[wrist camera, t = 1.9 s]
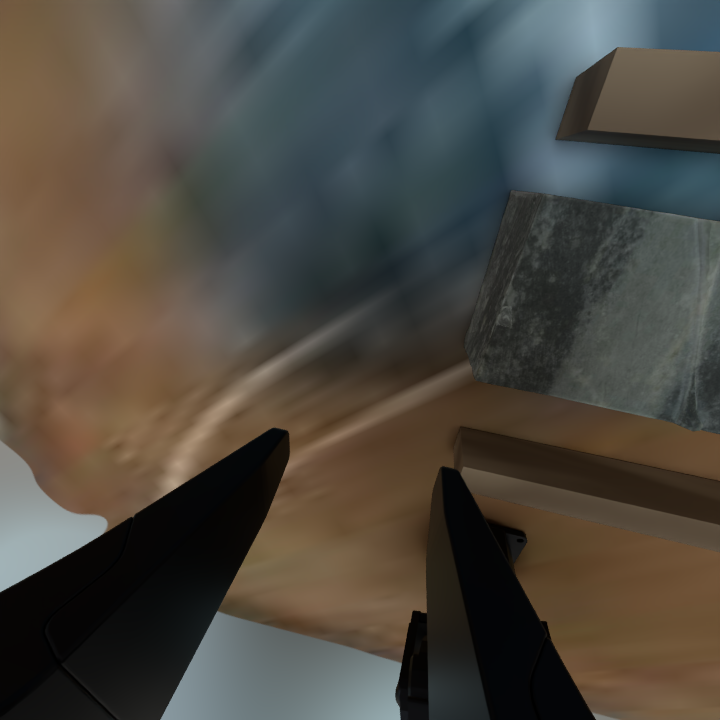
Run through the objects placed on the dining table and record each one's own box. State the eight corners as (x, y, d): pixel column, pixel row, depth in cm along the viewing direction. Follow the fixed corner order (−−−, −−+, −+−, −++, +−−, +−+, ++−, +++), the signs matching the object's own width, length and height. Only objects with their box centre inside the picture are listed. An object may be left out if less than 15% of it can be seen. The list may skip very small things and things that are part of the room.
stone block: (714, 409, 18) (802, 487, 14) (453, 350, 20) (457, 403, 15) (869, 242, 13) (1082, 279, 9) (510, 184, 15) (538, 190, 10)
